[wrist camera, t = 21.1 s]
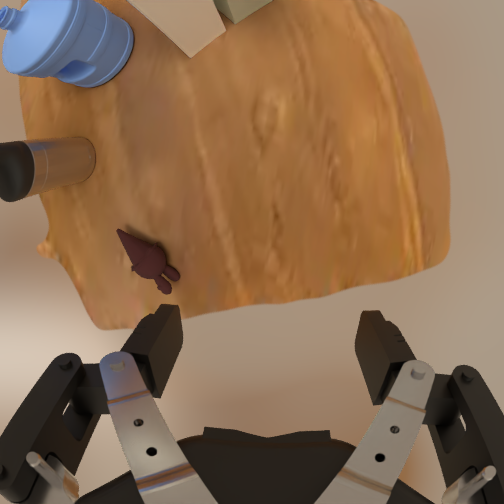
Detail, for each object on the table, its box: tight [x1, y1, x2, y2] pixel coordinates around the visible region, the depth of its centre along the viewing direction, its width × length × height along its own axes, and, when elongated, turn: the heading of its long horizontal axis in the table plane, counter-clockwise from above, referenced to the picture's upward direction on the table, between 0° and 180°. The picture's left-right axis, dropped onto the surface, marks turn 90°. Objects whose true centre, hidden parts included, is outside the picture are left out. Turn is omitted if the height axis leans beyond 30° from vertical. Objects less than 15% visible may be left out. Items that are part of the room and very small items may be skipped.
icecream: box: [117, 229, 180, 294], centre depth 50 cm, size 7×7×15 cm
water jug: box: [0, 0, 133, 87], centre depth 26 cm, size 16×16×28 cm
